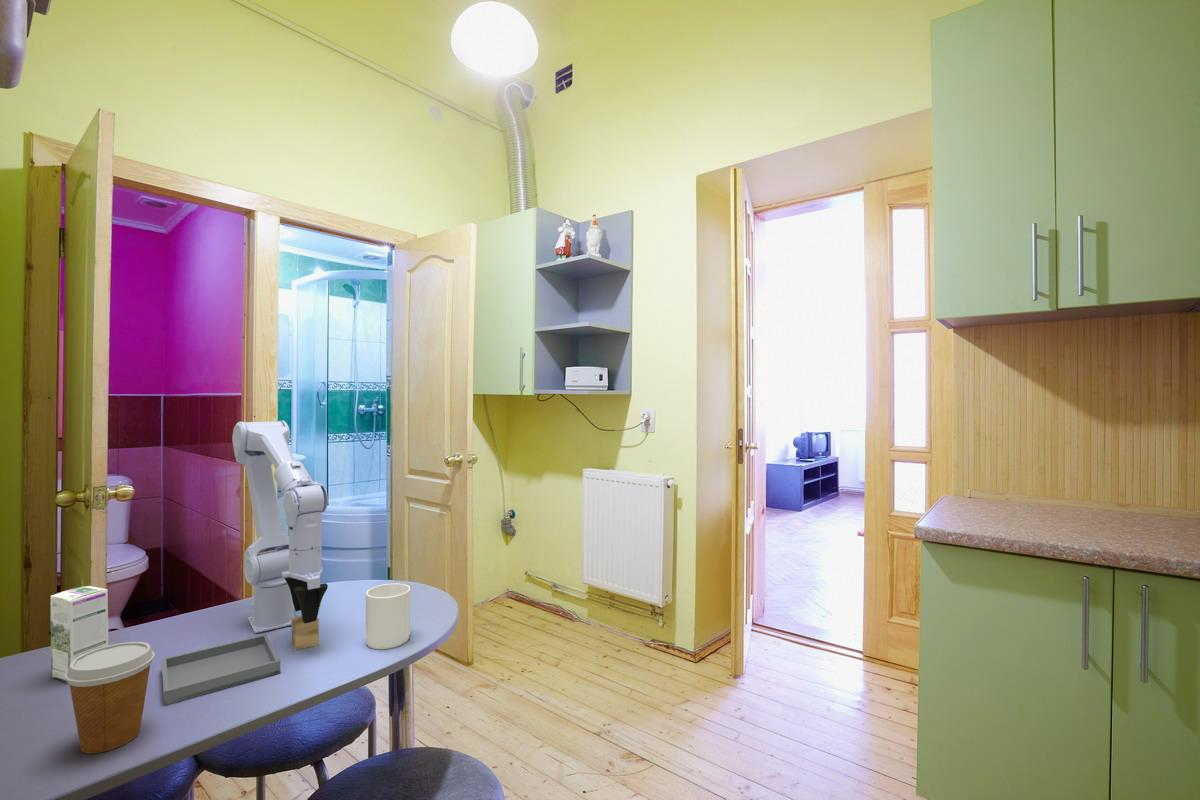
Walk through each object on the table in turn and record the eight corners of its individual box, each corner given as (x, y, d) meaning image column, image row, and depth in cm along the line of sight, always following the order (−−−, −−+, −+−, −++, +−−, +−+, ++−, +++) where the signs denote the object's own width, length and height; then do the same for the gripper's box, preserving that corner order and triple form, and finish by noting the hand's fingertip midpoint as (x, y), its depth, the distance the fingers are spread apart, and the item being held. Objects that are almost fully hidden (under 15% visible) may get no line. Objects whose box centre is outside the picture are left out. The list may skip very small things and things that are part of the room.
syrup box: (110, 668, 97) (110, 587, 97) (69, 684, 92) (69, 598, 92) (90, 663, 99) (90, 583, 99) (48, 678, 94) (48, 594, 94)
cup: (375, 654, 103) (376, 601, 103) (351, 634, 112) (352, 585, 112) (417, 640, 109) (417, 590, 109) (391, 623, 118) (391, 576, 118)
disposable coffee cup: (102, 721, 82) (103, 641, 82) (170, 718, 82) (170, 639, 82) (43, 763, 72) (43, 673, 72) (120, 760, 73) (120, 670, 73)
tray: (161, 671, 96) (161, 658, 96) (266, 645, 107) (266, 634, 107) (164, 705, 86) (164, 691, 86) (280, 673, 96) (280, 660, 96)
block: (291, 643, 108) (291, 618, 108) (313, 637, 110) (313, 613, 110) (295, 650, 105) (295, 624, 105) (318, 644, 107) (318, 619, 107)
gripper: (275, 542, 110) (275, 609, 110) (290, 558, 99) (290, 633, 99) (313, 537, 115) (313, 601, 115) (332, 552, 104) (331, 623, 104)
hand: (305, 615), depth 107 cm, fingers open, 7 cm apart
